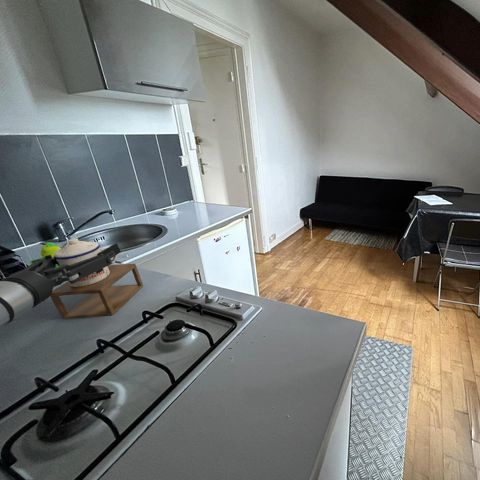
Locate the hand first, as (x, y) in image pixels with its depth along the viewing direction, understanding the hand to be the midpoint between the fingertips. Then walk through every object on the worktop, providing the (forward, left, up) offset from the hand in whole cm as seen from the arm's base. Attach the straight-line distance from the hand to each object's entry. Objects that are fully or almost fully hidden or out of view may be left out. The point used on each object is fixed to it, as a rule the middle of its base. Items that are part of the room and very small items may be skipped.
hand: (97, 249), depth 73 cm
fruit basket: (-33, +18, -15) cm, 41 cm away
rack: (0, -4, -15) cm, 15 cm away
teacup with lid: (0, -4, -7) cm, 8 cm away
